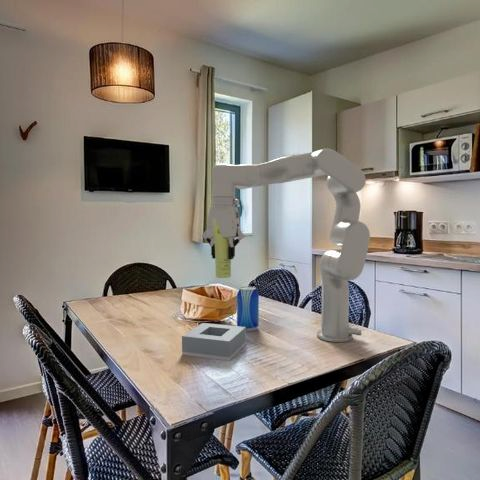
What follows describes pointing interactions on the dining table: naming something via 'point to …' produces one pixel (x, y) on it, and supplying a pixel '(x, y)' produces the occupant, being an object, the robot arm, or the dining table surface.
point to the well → (214, 341)
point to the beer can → (248, 308)
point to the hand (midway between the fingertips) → (222, 258)
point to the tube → (221, 254)
